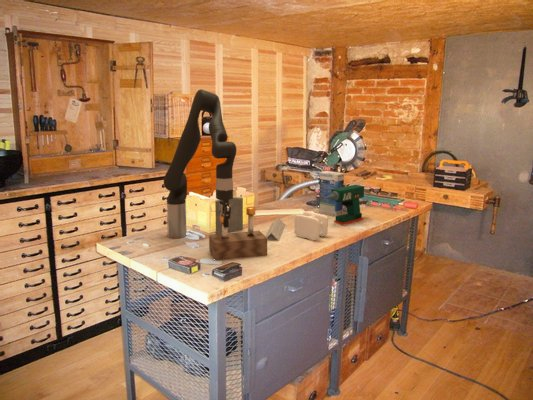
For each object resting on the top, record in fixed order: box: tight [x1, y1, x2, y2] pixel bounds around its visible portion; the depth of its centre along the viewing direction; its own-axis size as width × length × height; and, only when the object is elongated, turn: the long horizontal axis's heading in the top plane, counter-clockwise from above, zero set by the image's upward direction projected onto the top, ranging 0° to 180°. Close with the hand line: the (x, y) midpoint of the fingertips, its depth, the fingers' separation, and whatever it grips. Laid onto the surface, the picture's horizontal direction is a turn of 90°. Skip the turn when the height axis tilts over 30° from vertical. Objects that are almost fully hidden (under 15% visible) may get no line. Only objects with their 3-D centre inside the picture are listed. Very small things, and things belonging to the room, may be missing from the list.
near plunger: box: [220, 215, 229, 239], centre depth 196 cm, size 4×4×15 cm
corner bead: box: [265, 216, 286, 242], centre depth 232 cm, size 29×9×5 cm, turn 171°
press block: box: [208, 230, 268, 261], centre depth 199 cm, size 24×12×8 cm, turn 108°
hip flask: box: [214, 196, 244, 234], centre depth 230 cm, size 16×4×20 cm, turn 125°
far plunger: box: [245, 206, 256, 237], centre depth 199 cm, size 4×4×15 cm
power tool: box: [325, 184, 365, 226], centre depth 248 cm, size 32×7×20 cm, turn 131°
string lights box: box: [318, 170, 345, 218], centre depth 267 cm, size 13×8×26 cm, turn 49°
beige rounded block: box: [293, 211, 329, 241], centre depth 224 cm, size 15×11×12 cm
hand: (224, 225), depth 195 cm, fingers closed on near plunger, 4 cm apart
